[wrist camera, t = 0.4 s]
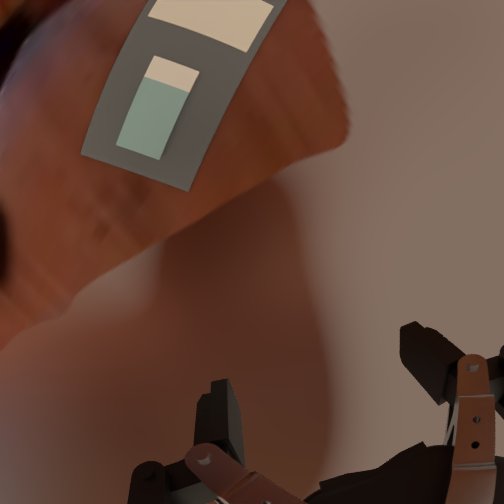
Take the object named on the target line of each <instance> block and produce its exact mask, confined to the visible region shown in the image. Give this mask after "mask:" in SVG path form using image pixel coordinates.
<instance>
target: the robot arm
mask: <svg viewBox="0 0 504 504" xmlns="http://www.w3.org/2000/svg"><path fill="white" fill-rule="evenodd" d="M400 358H401V361H402V363H403V365H404V366H405V367H406V368H407V369H408V370H409V372H410V373H411V374H412V375H413V376H414V377H415V379H416V380H417V381H418V382H419V383H420V384H421V386H422V387H423V388H424V389H425V390H426V391H427V393H428V394H429V395H430V396H431V397H432V398H433V400H434V401H435V402H436V403H437V404H438V405H441V404H443V403H444V402H446V401H447V402H448V403H449V407H448V414H447V423H446V430H445V437H444V442H443V445H434V446H429V447H426V445H425V444H424V442H423V441H422V442H421V443H419V444H416V445H414V446H412V447H410V448H408V449H406V450H404V451H402V452H400V453H398V454H397V455H395V456H394V457H393V458H391V459H390V460H389V461H387V462H386V463H384V464H383V465H382V466H380V467H379V468H376V469H373V470H367V471H361V472H355V473H347V474H344V475H341V476H338V477H335V478H331V479H328V480H325V481H321V482H319V485H320V489H319V490H317V491H315V492H313V493H312V494H310V495H309V496H308V497H306V498H305V499H304V500H303V501H302V500H300V499H299V498H297V497H295V496H294V495H292V494H291V493H289V492H287V491H286V490H284V489H283V488H281V487H280V486H278V485H276V484H275V483H273V482H272V481H270V480H269V479H267V478H266V477H265V476H263V475H262V474H260V473H258V472H255V471H254V472H253V473H252V472H250V471H248V470H247V469H246V467H245V456H244V445H243V433H242V422H241V412H240V408H239V404H238V401H237V399H236V396H235V394H234V391H233V388H232V386H231V383H230V381H229V379H228V378H227V379H222V380H217V381H212V382H211V393H209V394H203V395H202V396H201V398H200V400H199V401H198V403H197V411H196V412H197V413H196V422H195V433H194V445H193V447H192V448H191V449H190V450H189V451H188V452H187V453H186V455H185V458H184V459H183V460H181V461H179V462H176V463H173V464H170V465H167V466H163V465H162V464H161V463H158V462H155V461H147V462H144V463H142V464H140V465H139V466H137V467H136V468H135V469H134V471H133V473H132V477H131V483H130V490H129V496H128V503H127V504H206V503H209V502H212V501H216V502H217V503H218V504H504V457H500V456H495V410H496V411H497V412H498V413H499V415H500V416H501V417H502V418H503V419H504V345H503V346H502V347H501V349H500V354H499V356H495V357H492V358H489V359H485V358H484V357H482V356H480V355H477V354H468V355H466V354H465V353H463V352H462V351H461V350H460V349H459V348H457V347H456V346H455V345H454V344H453V343H451V342H450V341H448V339H447V338H445V337H443V335H442V334H440V333H439V332H438V331H437V330H434V329H432V328H428V327H426V328H424V327H423V326H421V325H420V324H419V323H418V322H416V321H414V322H411V323H409V324H406V325H404V326H402V327H401V328H400Z"/></svg>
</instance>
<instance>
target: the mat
mask: <svg viewBox="0 0 504 504" xmlns="http://www.w3.org/2000/svg"><path fill="white" fill-rule="evenodd" d="M286 2H287V0H149V1H148V2H147V4H146V6H145V7H144V9H143V11H142V12H141V14H140V16H139V17H138V19H137V21H136V23H135V24H134V26H133V28H132V30H131V32H130V34H129V36H128V37H127V39H126V41H125V43H124V45H123V47H122V49H121V51H120V53H119V55H118V57H117V59H116V62H115V64H114V66H113V68H112V70H111V72H110V75H109V77H108V79H107V82H106V84H105V86H104V89H103V91H102V94H101V96H100V99H99V101H98V104H97V106H96V109H95V112H94V114H93V117H92V120H91V123H90V126H89V129H88V132H87V135H86V138H85V141H84V144H83V147H82V150H81V155H84V156H87V157H90V158H93V159H96V160H99V161H102V162H105V163H108V164H111V165H114V166H117V167H120V168H123V169H125V170H128V171H131V172H134V173H137V174H140V175H142V176H145V177H148V178H151V179H154V180H156V181H159V182H162V183H165V184H167V185H170V186H173V187H176V188H178V189H181V190H184V191H187V192H189V189H190V187H191V185H192V182H193V180H194V178H195V175H196V173H197V171H198V169H199V166H200V164H201V162H202V160H203V157H204V155H205V153H206V151H207V149H208V146H209V144H210V142H211V140H212V138H213V136H214V134H215V132H216V129H217V127H218V125H219V123H220V121H221V119H222V117H223V115H224V113H225V111H226V109H227V107H228V105H229V103H230V101H231V99H232V97H233V95H234V93H235V91H236V89H237V87H238V85H239V84H240V82H241V80H242V78H243V76H244V74H245V72H246V70H247V69H248V67H249V65H250V63H251V61H252V59H253V58H254V56H255V54H256V52H257V50H258V49H259V47H260V45H261V43H262V42H263V40H264V38H265V36H266V35H267V33H268V31H269V30H270V28H271V26H272V25H273V23H274V21H275V20H276V18H277V16H278V15H279V13H280V11H281V10H282V8H283V7H284V5H285V3H286ZM154 56H157V57H160V58H163V59H166V60H169V61H172V62H175V63H178V64H180V65H183V66H186V67H189V68H191V69H194V70H196V71H199V75H198V77H197V79H196V81H195V83H194V85H193V87H192V89H191V91H190V93H189V95H188V97H187V100H186V102H185V104H184V106H183V108H182V110H181V112H180V115H179V117H178V119H177V121H176V123H175V126H174V128H173V130H172V133H171V135H170V137H169V140H168V142H167V144H166V147H165V149H164V151H163V154H162V156H161V158H160V160H157V159H155V158H152V157H149V156H146V155H143V154H141V153H138V152H135V151H132V150H129V149H126V148H123V147H121V146H118V145H116V143H117V140H118V138H119V135H120V132H121V130H122V127H123V124H124V122H125V119H126V117H127V114H128V112H129V109H130V107H131V105H132V102H133V100H134V97H135V95H136V93H137V91H138V88H139V86H140V84H141V82H142V80H143V77H144V75H145V73H146V71H147V69H148V67H149V65H150V63H151V61H152V59H153V57H154Z"/></svg>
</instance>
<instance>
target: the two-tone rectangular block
mask: <svg viewBox="0 0 504 504" xmlns="http://www.w3.org/2000/svg"><path fill="white" fill-rule="evenodd" d="M198 75H199V71H196V70H194V69H191V68H189V67H186V66H183V65H180V64H178V63H175V62H172V61H169V60H166V59H163V58H160V57H157V56H154V57H153V59H152V61H151V63H150V65H149V67H148V69H147V71H146V73H145V75H144V77H143V80H142V82H141V84H140V86H139V88H138V91H137V93H136V95H135V97H134V100H133V102H132V105H131V107H130V109H129V112H128V114H127V117H126V119H125V122H124V124H123V127H122V130H121V132H120V135H119V138H118V140H117V143H116V145H118V146H121V147H123V148H126V149H129V150H132V151H135V152H138V153H141V154H143V155H146V156H149V157H152V158H155V159H157V160H160V158H161V156H162V154H163V151H164V149H165V147H166V144H167V142H168V140H169V137H170V135H171V133H172V130H173V128H174V126H175V123H176V121H177V119H178V117H179V115H180V112H181V110H182V108H183V106H184V104H185V102H186V100H187V97H188V95H189V93H190V91H191V89H192V87H193V85H194V83H195V81H196V79H197V77H198Z"/></svg>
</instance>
